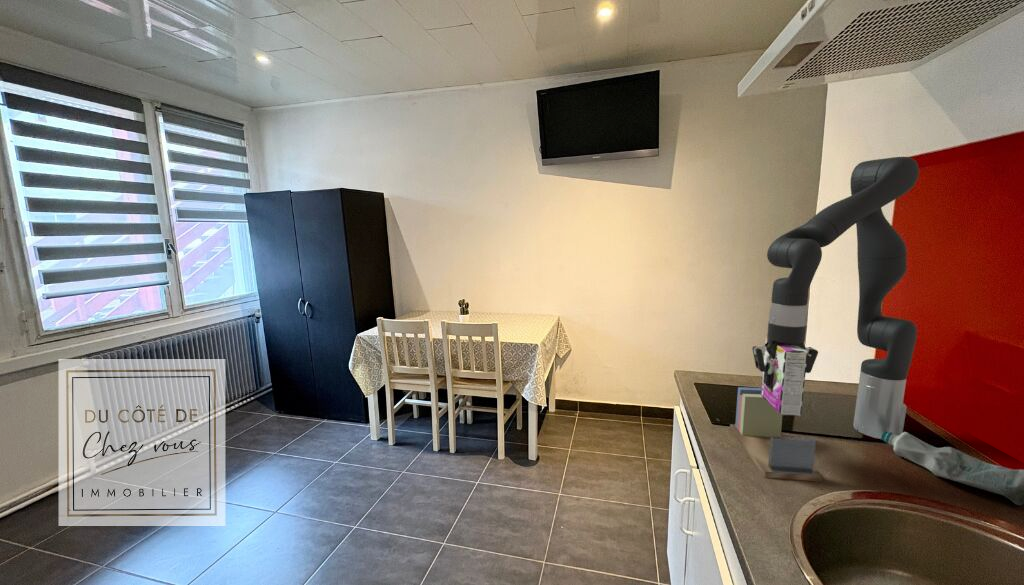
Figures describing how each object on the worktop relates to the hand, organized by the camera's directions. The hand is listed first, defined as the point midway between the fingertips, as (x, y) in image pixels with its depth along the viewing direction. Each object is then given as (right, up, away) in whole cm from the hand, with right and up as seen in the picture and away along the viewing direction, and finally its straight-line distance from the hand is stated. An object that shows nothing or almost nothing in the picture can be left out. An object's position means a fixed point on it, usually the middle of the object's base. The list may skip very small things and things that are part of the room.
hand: (781, 387), depth 96 cm
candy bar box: (0, -5, +1) cm, 5 cm away
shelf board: (+1, -18, +5) cm, 19 cm away
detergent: (+36, -20, -5) cm, 41 cm away
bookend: (-1, -19, -5) cm, 19 cm away
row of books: (+2, -16, +12) cm, 20 cm away
